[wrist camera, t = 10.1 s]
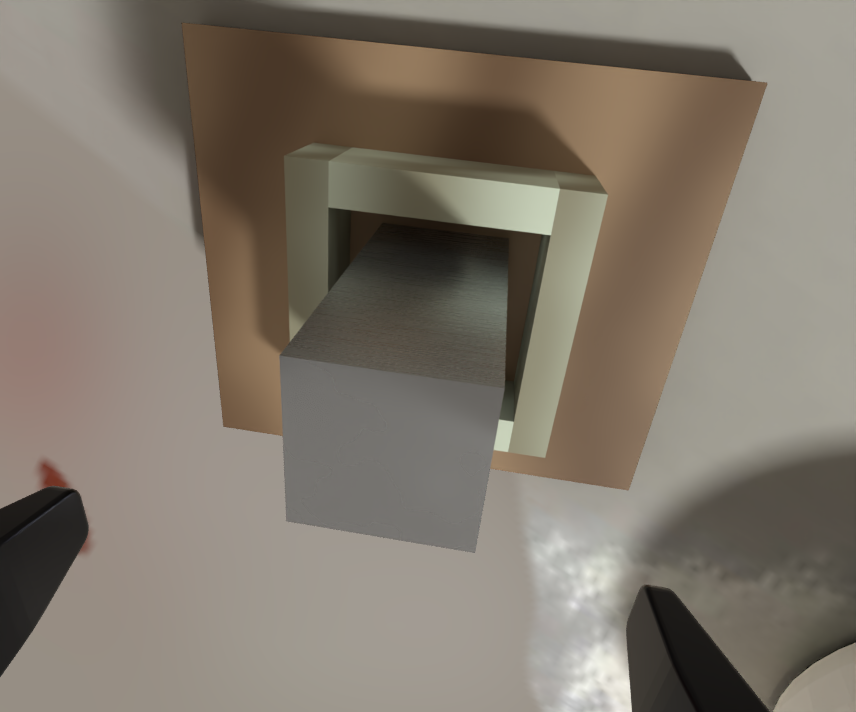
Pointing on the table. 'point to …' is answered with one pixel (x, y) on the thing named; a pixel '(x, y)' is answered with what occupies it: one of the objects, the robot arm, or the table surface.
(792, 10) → the table surface
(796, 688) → the bowl
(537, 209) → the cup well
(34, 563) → the robot arm
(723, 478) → the table surface
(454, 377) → the grey tall block
